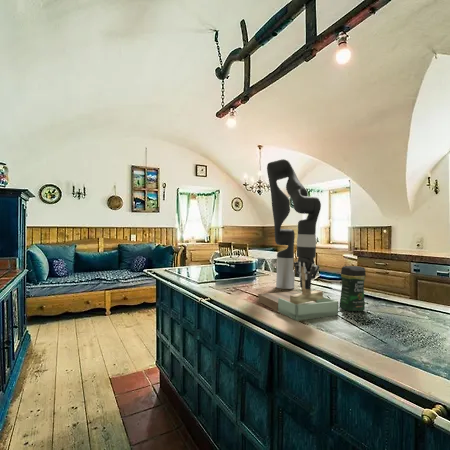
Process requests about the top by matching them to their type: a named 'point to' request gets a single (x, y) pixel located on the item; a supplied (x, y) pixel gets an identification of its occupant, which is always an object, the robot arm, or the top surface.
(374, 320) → the top surface
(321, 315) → the box
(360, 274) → the coffee jar
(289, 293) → the walnut plate
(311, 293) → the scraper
